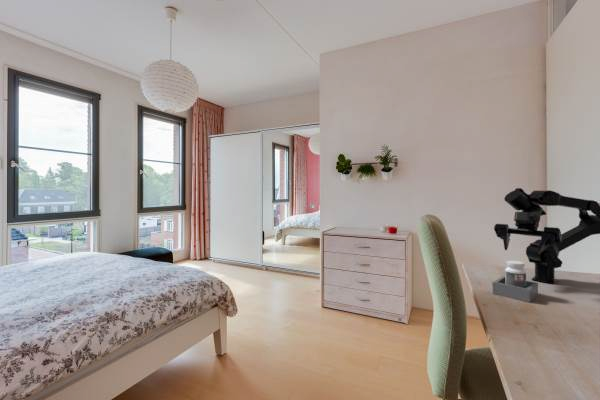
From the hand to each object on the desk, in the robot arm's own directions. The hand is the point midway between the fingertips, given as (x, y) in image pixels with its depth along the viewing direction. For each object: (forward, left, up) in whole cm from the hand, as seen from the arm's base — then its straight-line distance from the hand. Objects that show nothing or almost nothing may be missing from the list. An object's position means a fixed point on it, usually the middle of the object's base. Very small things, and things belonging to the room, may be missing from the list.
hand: (521, 251), depth 99 cm
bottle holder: (+7, 0, -14) cm, 15 cm away
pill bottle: (+6, 0, -13) cm, 14 cm away
